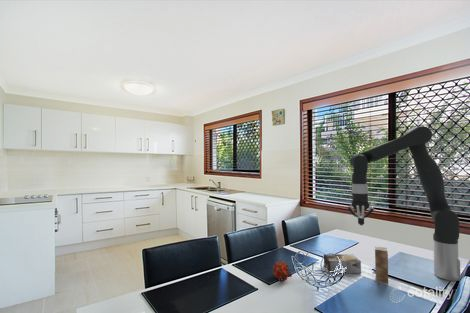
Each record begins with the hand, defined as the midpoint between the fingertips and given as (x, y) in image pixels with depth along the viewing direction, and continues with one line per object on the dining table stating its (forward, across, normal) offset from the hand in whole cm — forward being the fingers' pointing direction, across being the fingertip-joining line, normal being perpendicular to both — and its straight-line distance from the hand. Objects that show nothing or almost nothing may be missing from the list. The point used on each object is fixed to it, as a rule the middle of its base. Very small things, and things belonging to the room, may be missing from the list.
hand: (361, 225), depth 130 cm
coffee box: (+20, +2, +1) cm, 20 cm away
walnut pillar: (+23, -8, +9) cm, 26 cm away
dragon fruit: (+23, +35, +29) cm, 51 cm away
